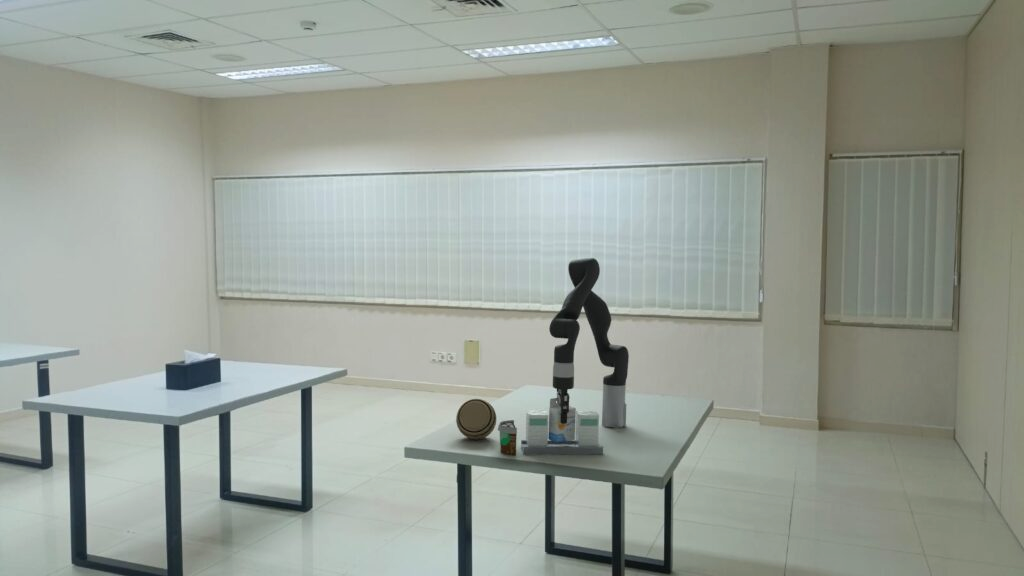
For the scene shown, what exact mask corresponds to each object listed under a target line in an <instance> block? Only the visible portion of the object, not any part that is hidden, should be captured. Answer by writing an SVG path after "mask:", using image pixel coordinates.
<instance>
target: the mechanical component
mask: <svg viewBox="0 0 1024 576" xmlns="http://www.w3.org/2000/svg"><path fill="white" fill-rule="evenodd" d="M455 422H456V426H457V429H458V431H459V432H460V433H461V435H463V436H464V437H465V438H468V439H470V440H482V439H485V438H487V437H489V436H490V435H491V434H492V432H493V431H494V430H495V427H496V425H497V414H496V410H495V408H494V407H493V406H492V404H491V403H490V402H487V400H485V399H481V398H471V399H469V400H467V401H465V402H463V403H462V404H461V405H460V407H459V409H458V410H457V412H456V417H455Z"/></svg>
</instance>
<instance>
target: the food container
mask: <svg viewBox="0 0 1024 576" xmlns="http://www.w3.org/2000/svg"><path fill="white" fill-rule="evenodd" d="M517 429H518V428H517V427H516V425H515V420H513V419H510V420H503V421H499V424H498V426H497V430H498V431H499V446H500V449H499V450H500V454H502V455H507V456H515V457H516V456H517V433H518V431H517Z"/></svg>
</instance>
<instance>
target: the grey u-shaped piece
mask: <svg viewBox="0 0 1024 576" xmlns="http://www.w3.org/2000/svg"><path fill="white" fill-rule="evenodd" d="M525 413H526V414H525V415H526V416H525V418H526V421H525V422H526V423H525V439H521V440H520V441H521V442H520V447H521V451H522V453H523V455H604V446H603V445H602V446H601V445H600V444H599V435H600V434H599V430H600V429H599V428H600V425H599V423H600V415H599V413H598V412H597V411H596V410H576V417H575V440H570V441H562V442H554V441H551V440H549V439H548V434H549V412H547V410H526V412H525Z"/></svg>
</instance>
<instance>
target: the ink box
mask: <svg viewBox="0 0 1024 576" xmlns="http://www.w3.org/2000/svg"><path fill="white" fill-rule="evenodd" d="M557 401H558V399H557V397H553V398H550V400H549V407H548V409H549V410H548V440H551V441H554V442H562V441H570V440H575V434H576V411H577V408H576V407H575V406H572V405H571V406H570V405H569V412H568V413H567V423H566V424H562V423H561V412H560V411H561V409H560V407H559V403H557ZM563 409H566V407H563Z"/></svg>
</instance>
